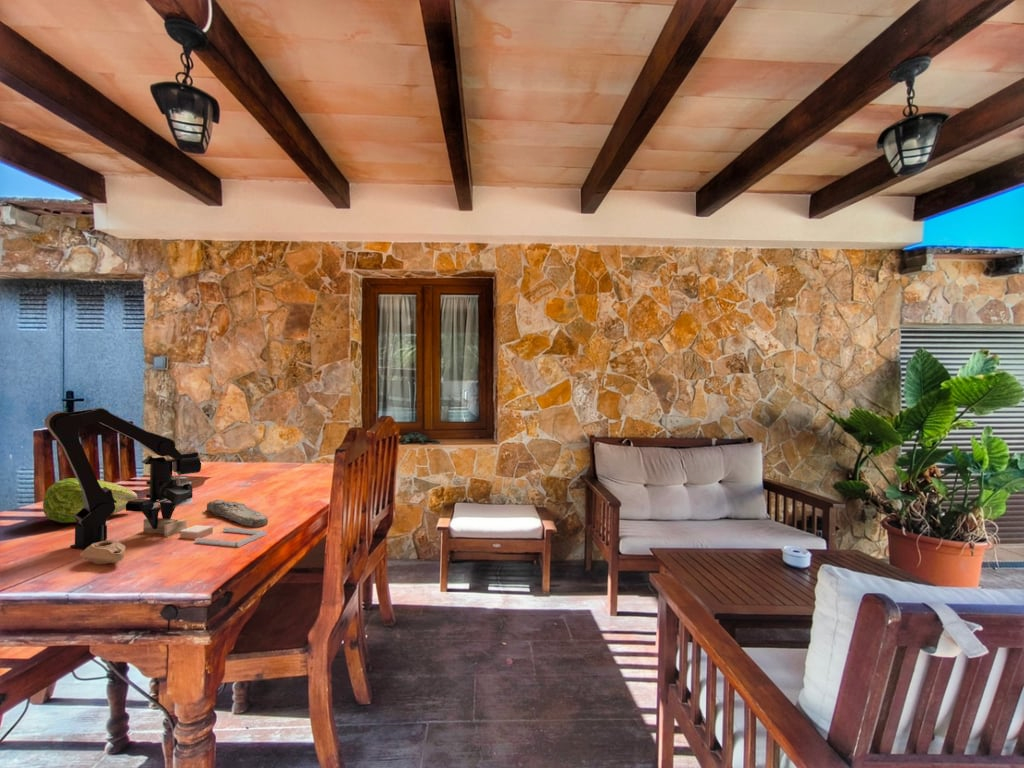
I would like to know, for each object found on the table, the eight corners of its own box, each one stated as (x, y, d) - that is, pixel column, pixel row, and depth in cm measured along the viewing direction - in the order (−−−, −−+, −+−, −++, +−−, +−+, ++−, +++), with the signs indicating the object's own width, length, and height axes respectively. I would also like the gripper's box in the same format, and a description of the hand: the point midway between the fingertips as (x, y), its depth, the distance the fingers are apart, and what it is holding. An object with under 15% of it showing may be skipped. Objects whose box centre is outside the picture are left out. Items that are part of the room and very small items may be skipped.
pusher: (167, 537, 152) (167, 524, 152) (136, 534, 154) (136, 521, 154) (186, 530, 158) (186, 517, 158) (156, 527, 161) (157, 515, 161)
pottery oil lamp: (100, 572, 123) (84, 547, 123) (88, 576, 131) (73, 553, 130) (139, 550, 130) (124, 527, 130) (126, 555, 138) (112, 533, 137)
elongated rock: (245, 535, 160) (275, 529, 168) (247, 518, 160) (277, 513, 168) (198, 510, 181) (226, 506, 189) (199, 495, 181) (228, 492, 189)
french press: (195, 499, 197) (196, 435, 197) (191, 506, 187) (193, 439, 187) (165, 501, 193) (166, 436, 193) (160, 508, 183) (161, 439, 182)
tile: (197, 540, 150) (197, 532, 150) (179, 538, 151) (180, 530, 151) (212, 534, 156) (212, 526, 156) (195, 533, 157) (195, 525, 157)
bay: (238, 547, 144) (238, 543, 144) (194, 542, 147) (194, 538, 147) (266, 534, 156) (266, 530, 156) (225, 530, 159) (225, 527, 159)
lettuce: (139, 521, 170) (144, 477, 172) (40, 525, 153) (49, 477, 155) (130, 518, 182) (136, 478, 184) (38, 522, 165) (46, 477, 167)
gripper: (156, 484, 145) (155, 538, 145) (207, 473, 164) (206, 520, 164) (124, 482, 147) (123, 535, 148) (178, 471, 166) (177, 518, 166)
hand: (160, 527), depth 156 cm, fingers open, 4 cm apart
